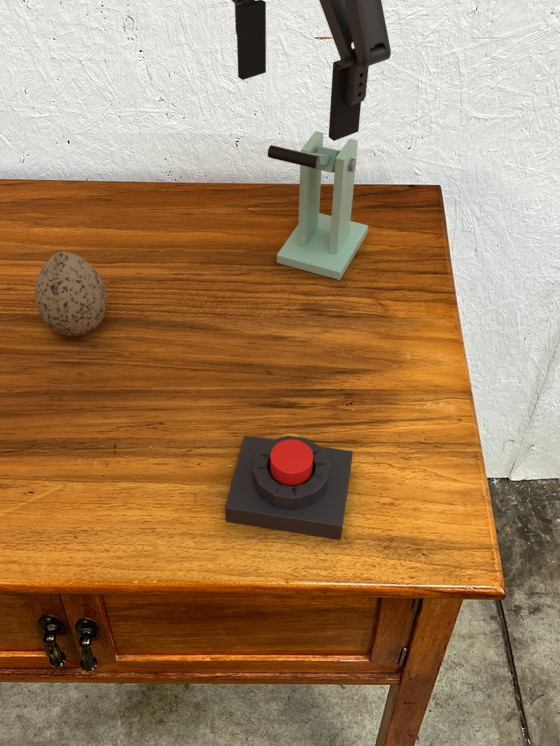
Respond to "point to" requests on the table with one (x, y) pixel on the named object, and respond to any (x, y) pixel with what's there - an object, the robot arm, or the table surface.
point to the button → (291, 462)
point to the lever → (307, 157)
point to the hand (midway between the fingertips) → (295, 103)
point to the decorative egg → (70, 295)
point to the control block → (290, 491)
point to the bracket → (325, 218)
